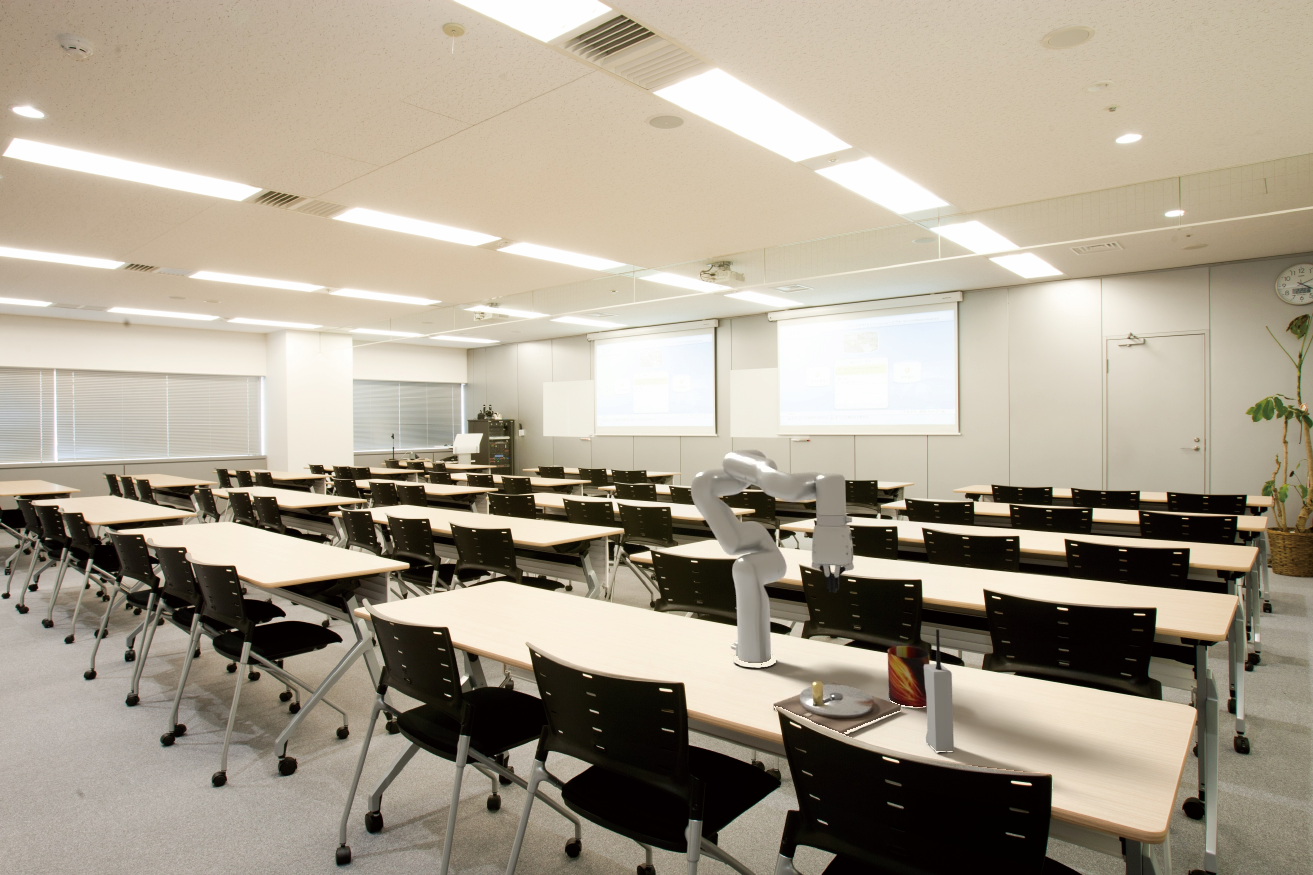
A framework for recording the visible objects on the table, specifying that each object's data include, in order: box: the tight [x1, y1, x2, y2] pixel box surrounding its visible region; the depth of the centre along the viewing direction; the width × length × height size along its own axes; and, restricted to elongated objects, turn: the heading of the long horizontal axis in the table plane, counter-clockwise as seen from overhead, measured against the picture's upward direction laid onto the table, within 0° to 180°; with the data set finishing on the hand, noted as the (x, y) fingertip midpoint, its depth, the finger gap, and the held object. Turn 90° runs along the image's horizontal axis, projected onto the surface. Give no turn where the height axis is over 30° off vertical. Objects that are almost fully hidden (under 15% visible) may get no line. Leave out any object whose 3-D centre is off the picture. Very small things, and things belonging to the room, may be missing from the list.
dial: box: [799, 680, 874, 718], centre depth 163 cm, size 17×17×6 cm
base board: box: [773, 682, 902, 736], centre depth 163 cm, size 20×22×2 cm
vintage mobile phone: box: [924, 629, 955, 752], centre depth 143 cm, size 4×5×25 cm
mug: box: [887, 645, 931, 707], centre depth 166 cm, size 10×14×12 cm
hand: (833, 591), depth 178 cm, fingers closed
